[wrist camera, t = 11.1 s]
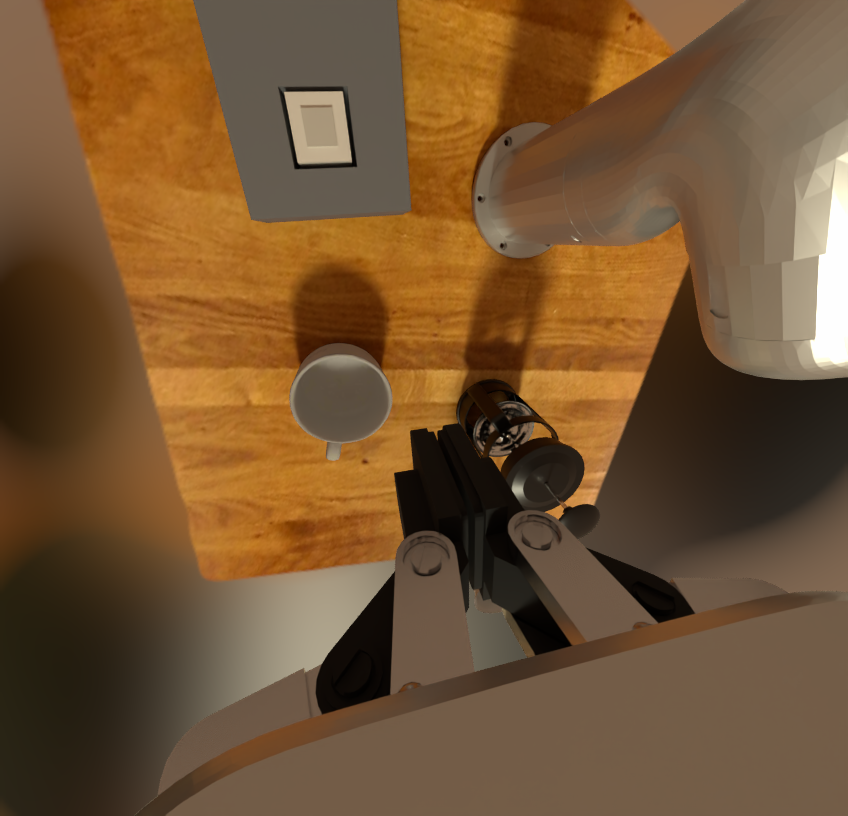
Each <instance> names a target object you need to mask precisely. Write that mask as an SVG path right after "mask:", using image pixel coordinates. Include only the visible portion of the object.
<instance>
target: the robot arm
mask: <svg viewBox="0 0 848 816" xmlns="http://www.w3.org/2000/svg"><path fill="white" fill-rule="evenodd" d="M504 141H506V142H507V145H506V146H505V144H504ZM478 196H479V197H480V198H481V201H480V202H479V201H478ZM472 209H473V216H474V220H475V223H476V227H477V229H478V231H479V233H480V235H481V237H482V238H483V239H484V241H485V242H486V243H487V244H488V245H489V246H490V247H491V248H492V249H493V250H494V251H496V252H498V253H500V254H502V255H504V256H507V257H511V258H530V257H533V256H537V255H539V254H541V253H543V252H545V251H547V250H548V249H550V248H551V247H552V246H554V245H592V246H627V245H633V244H638V243H641V242H645V241H647V240H650V239H652V238H654V237H656V236H658V235H660V234H662V233H664V232H665V231H667V230H668V229H670V228H671V227H673V226H674V225H675V224H677V223H678V222H679V221H680V222H681V226H682V230H683V235H684V240H685V247H686V251H687V253H688V255H689V260H690V266H691V272H692V278H693V284H694V290H695V297H696V302H697V309H698V315H699V320H700V325H701V329H702V333H703V337H704V339H705V342H706V344H707V346H708V348H709V349H710V351H711V352H712V353H713V355H714V356H715V357H716V358H717V359H719V360H720V361H721V362H722V363H724V364H726V365H727V366H729V367H731V368H733V369H735V370H738V371H740V372H744V373H747V374H751V375H755V376H761V377H767V378H776V379H796V380H798V379H799V380H808V379H829V378H840V377H848V0H745V1H744V2H743V3H741V4H740V5H739V6H738V7H737V8H735V9H734V10H733V11H732V12H730V13H729V14H728V15H726V16H725V17H724V18H723V19H721V20H720V21H719V22H717V23H716V24H715V25H714V26H712V27H711V28H710V29H708V30H707V31H706V32H704V33H703V34H701V35H700V36H699V37H697V38H696V39H695V40H693V41H692V42H691V43H689V44H688V45H686V46H685V47H683V48H682V49H681V50H679V51H678V52H676V53H675V54H673V55H672V56H670V57H669V58H667V59H666V60H664V61H663V62H661V63H659V64H658V65H656V66H655V67H653V68H652V69H650V70H648V71H647V72H645V73H643V74H642V75H640V76H638V77H637V78H635V79H633V80H631V81H630V82H628V83H626V84H625V85H623V86H621V87H619V88H618V89H616V90H614V91H612V92H611V93H609V94H607V95H605V96H604V97H602V98H600V99H598V100H597V101H595V102H593V103H591V104H590V105H588V106H586V107H585V108H583V109H581V110H579V111H577V112H576V113H574V114H572V115H570V116H569V117H567V118H565V119H563V120H562V121H560V122H558V123H556V124H555V125H553V126H551V125H549V124H546V123H540V122H530V123H524V124H521V125H519V126H516V127H514V128H512V129H510V130H509V131H507V132H506V133H504V134H503V135H502V136H501V137H499V138H498V139H497V140H496V141H495V142H494V143H493V144H492V145H491V147H490V148H489V149H488V150H487V152H486V153H485V155H484V157H483V159H482V160H481V162H480V164H479V167H478V170H477V172H476V175H475V179H474V184H473V189H472ZM501 243H502V247H501V248H500V244H501ZM437 435H438V441H437V438H436V436H435V434H434V432H428V430H427V428H424V429H418V430H411V431H410V436H411V447H412V457H413V468H414V470H408V471H402V472H397V473H394V476H395V484H396V492H397V499H398V506H399V512H400V518H401V524H402V529H403V535H404V540H403V541H402V542H401V544H400V546H399V547H398V549H397V553H396V561H395V572H394V573H393V574H392V576H391V577H390V578H389V579H388V580H387V582H386V583H385V584H384V585H383V587H382V588H381V589H380V590H379V592H378V593H377V594H376V595H375V596H374V598H373V599H372V600H371V601H370V603H369V604H368V605H367V607H366V608H365V609H364V610H363V611H362V613H361V614H360V615H359V616H358V618H357V619H356V620H355V621H354V623H353V624H352V625H351V626H350V627H349V629H348V630H347V631H346V632H345V634H344V635H343V636H342V637H341V639H340V640H339V641H338V642H337V644H336V645H335V646H334V647H333V649H332V650H331V651H330V652H329V654H328V655H327V657H326V658H325V660H324V662H323V663H322V664H321V665H319V666H317V667H315V668H313V669H312V670H309V671H308V672H305V670H304V668H303V669H301V670H299V671H297V672H295V673H293V674H291V675H289V676H288V677H286V678H283V679H281V680H280V681H277V682H275V683H274V684H271V685H269V686H267V687H265V688H263V689H261V690H259V691H257V692H255V693H253V694H251V695H250V696H248V697H245V698H243V699H242V700H239V701H238V702H235V703H234V704H231V705H229V706H227V707H226V708H224V709H222V710H220V711H218V712H216V713H214V714H212V715H210V716H208V717H206V718H204V719H203V720H202V721H200V722H199V723H197V724H196V725H194V726H193V727H191V728H190V730H189V731H188V732H187V733H186V734H185V735H184V736H183V737H182V738H181V740H180V741H179V742H178V743H177V745H176V746H175V748H174V750H173V751H172V753H171V755H170V756H169V758H168V760H167V761H166V765H165V768H164V771H163V774H162V777H161V780H160V785H159V792H158V796H157V797H156V798H155V799H154V800H152V801H151V802H150V803H148V804H147V805H146V806H144V807H143V808H142V809H141V810H140V811H139V812H138V813H137V814H136V815H135V816H848V592H838V591H807V592H793V593H787V592H786V591H784V590H783V589H781V588H779V587H777V586H775V585H773V584H770V583H768V582H765V581H762V580H757V579H750V578H749V579H748V578H747V579H746V578H672V579H671V581H670V582H666V581H665V580H663V579H661V578H659V577H657V576H655V575H653V574H650V573H648V572H646V571H643V570H641V569H638V568H636V567H633V566H631V565H628V564H626V563H623V562H621V561H618V560H615V559H613V558H611V557H608V556H606V555H603V554H601V553H598V552H596V551H593V550H591V549H588V548H586V547H584V546H583V545H582V543H581V542H579V540H578V539H577V538H576V537H575V536H574V535H573V534H572V533H571V532H570V531H569V530H568V529H567V528H566V527H565V526H564V525H563V524H562V523H561V522H560V521H559V520H558V519H556V518H555V517H554V516H552V515H550V514H548V513H545V512H541V511H537V510H526V511H525V510H524V508H523V507H522V505H521V504H520V502H519V501H518V499H517V497H516V496H515V494H514V493H513V491H512V490H511V488H510V486H509V485H508V483H507V482H506V480H505V479H504V477H503V475H502V474H501V472H500V471H499V469H498V468H497V466H496V464H495V463H494V461H493V460H492V459H491V458H490V457H484V458H480V457H479V455H478V453H477V452H476V450H475V448H474V447H473V445H472V443H471V442H470V440H469V438H468V436H467V435H466V433H465V431H464V430H463V428H462V426H461V425H460V423H457V424H450V425H444V426H443V430H439V431H438V433H437ZM469 581H470V584H471V587H472V589H473V590H476V589H479V591H480V594H481V596H482V599H483V601H484V600H488V599H491V601H492V602H493V603H494V604H496V605H498V606H500V607H502V612H503V614H504V617H505V619H506V620H507V623H508V624H509V626H510V628H511V629H512V631H513V633H514V635H515V637H516V638H517V640H518V642H519V644H520V645H521V647H522V649H523V651H524V653H525V654H526V656H527V658H525V659H521V660H518V661H514V662H510V663H506V664H503V665H499V666H495V667H492V668H488V669H484V670H480V671H477V672H474V666H473V659H472V652H471V647H470V640H469V633H468V627H467V621H466V612H467V610H468V608H469Z"/></svg>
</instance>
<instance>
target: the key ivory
mask: <svg viewBox="0 0 848 816" xmlns="http://www.w3.org/2000/svg"><path fill="white" fill-rule="evenodd" d="M284 94H285V99H286V104H287V110H288V115H289V120H290V125H291V130H292V135H293V140H294V146H295V151H296V156H297V161H298V164H299V165H300V167H301V168H302V169H321V168H347V167H352V158H351V150H350V143H349V135H348V128H347V120H346V113H345V105H344V98H343V91H332V92H284Z"/></svg>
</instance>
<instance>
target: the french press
mask: <svg viewBox="0 0 848 816" xmlns="http://www.w3.org/2000/svg"><path fill="white" fill-rule="evenodd" d="M496 391H502V392H504V393H505V394H506V395H507V397H508V399H509V401H503V402H498V403H495V402H494V400H493V399H492V398H491V397H490V396H489V395H488V394H489V393H491V392H496ZM474 403H476V404H477V405H478V407H479V408H480V409H481V411H482V413H481V415H480V416H479V417H478V419H477V421H476V424H475V426H474V427H472V426H471V425H470V424H469V423H468V421H467V418H466V417H467V414H468V412H469V410H470V408H471V407H472V405H473V404H474ZM456 414H457V420H458V423H460V425H461V426H462V428H463V430H464V431H465V432H466V434H467V435H468V437H469V439H470V440H471V442H472V444H473V445H474V447H475V449H476V451H477V452H478V454H479V456H480V457H481V458H484V457H489V456H492V457H502V456H507V455H508V457H507V458H506V460H505V461H504V463H503V465H502V468H501V474H502V475H503V477H504V479H505V480H506V482H507V483H508V485H509V486H510V488H511V490H512V491H513V493H514V494H515V496H516V497H517V499H518V501H519V502H520V504H521V505H522V507H523V508H524V510H525V511H526V510H537V511H541V512H546V511H548V510H551V509H553V508H555V507H557V506H559V505H562V507H563V508H564V510H563V513H564V514H563V515H562V516H561V517H560V518H559V521H560V522H561V523H562V524H563V525H564V526H565V527H566V528H567V529H568V530H569V531H570V532H571V533H572V534H573V535H574V536H575V537H576V538H577V539H579V538H581V537H583V536H585V535H587V534H588V533H590V532H591V531H592V530H593V529H594V528H595V527H596V525H597V523H598V521H599V518H600V513H599V510H598V509H597V508H596V507H595V506H593V505H590V504H583V505H578V506H575V507H573V508H572V507H570V506H569V507H567V505H566V504H565V503H564V502H565V501H566V500H567V499H568V498H569V497H571V496H572V495H573V493H574V492H575V491H576V490H577V488H578V487H579V485H580V483H581V481H582V478H583V475H584V469H585V468H584V461H583V459H582V456H581V455H580V454H579V453H578V451H577V450H575V449H574V448H572V447H571V446H568V445H566V444H563V443H561V442H560V441H559V439H558V436H557V433H556V432H555V430H554V429H553V428H552V427H551V426H550V425H549V424H548V423H547V422H546V421H545V420H544V419H543V418H541V417H540V416H539V415H538V414H537V413H536V412H535V411H534V410H533V409H532V408H531V407H530V406H529V405H528V404H527V403H525V402H524V401H523V400H522V399H521V398H520V397H519V396H518V395H517V394H516V393H515V391H514V390H513V389H512V387H511V386H510V385H508V384H507V383H505V382H503V381H501V380H495V379H489V380H483V381H481V382H478V383H476V384H474V385H473V386H471V387H470V388H469V389H467V390H466V391H465V393H464V394H463V395H462V397H461V398H460V400H459V403H458V406H457V412H456ZM534 422H536V423H541V424H543V425H544V426H545V427H546V428H547V429H548V430H549V431H550V432H551V436H552V438H548V437H543V438H536V439H532V440H529V438H530V436H531V434H532V432H533V428H534ZM528 440H529V441H528ZM480 451H481V452H482V453H483V455H482V454H481V452H480Z"/></svg>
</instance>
